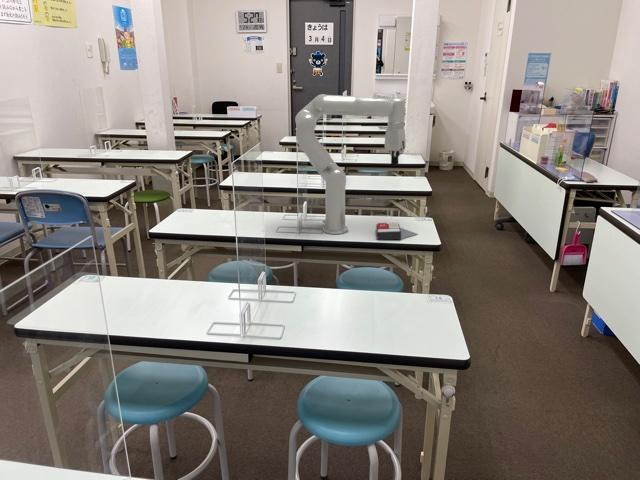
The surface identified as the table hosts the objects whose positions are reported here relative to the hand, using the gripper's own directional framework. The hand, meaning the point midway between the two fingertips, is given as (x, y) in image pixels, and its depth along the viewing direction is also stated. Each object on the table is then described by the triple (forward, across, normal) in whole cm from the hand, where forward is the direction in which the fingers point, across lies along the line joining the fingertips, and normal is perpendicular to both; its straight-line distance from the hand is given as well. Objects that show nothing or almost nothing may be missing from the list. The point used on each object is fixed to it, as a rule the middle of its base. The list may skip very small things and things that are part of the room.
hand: (394, 164), depth 230 cm
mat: (+31, +12, -6) cm, 34 cm away
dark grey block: (+29, +3, -6) cm, 30 cm away
